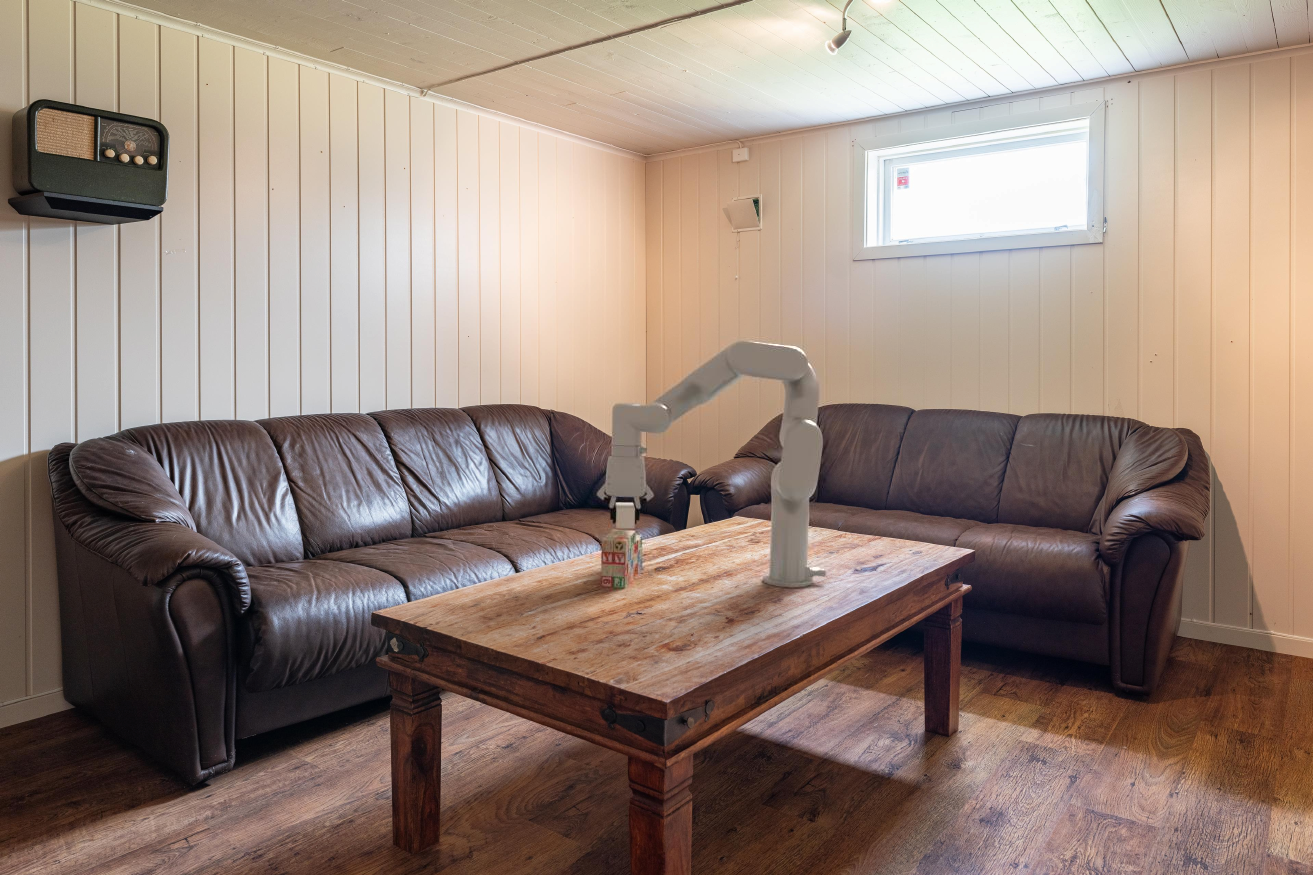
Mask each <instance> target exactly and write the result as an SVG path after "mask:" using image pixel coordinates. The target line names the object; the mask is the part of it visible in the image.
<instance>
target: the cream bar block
mask: <svg viewBox="0 0 1313 875" xmlns="http://www.w3.org/2000/svg"><path fill="white" fill-rule="evenodd" d="M615 506H616V523H615V527H616V528H615V529H635V527H636V526H635V525H636V524H635V503H634V502H615Z"/></svg>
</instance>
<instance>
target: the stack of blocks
mask: <svg viewBox="0 0 1313 875" xmlns="http://www.w3.org/2000/svg"><path fill="white" fill-rule="evenodd" d="M636 532H637V531H636V530H630V529H627V530H625V529H612V530H611V531H610V532H609V533H608V534H606V535H605V536H604V537H602V538H601V554H600V556H601V557H600V558H601V559H600V560H601V562H600V563H601V565H600V567H601V568H600V569H601V571H600V572H601V576H600V587H601V588H609V589H626V588H627V586H629V585H630V584H631V583H632V582H633V580H634V579H635V577H636V576H637V575H638V574H639V573H640V572H641V570H642V569H643V535H642V534H641V535H640V534H636Z"/></svg>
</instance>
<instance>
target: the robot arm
mask: <svg viewBox="0 0 1313 875" xmlns="http://www.w3.org/2000/svg"><path fill="white" fill-rule="evenodd" d="M746 376H747V377H752V378H759V379H768V380H778V381H781V382H782V385H783V387H784V391H785V392H784V395H785V396H784V407H783V414H782V420H781V426H780V430H779V442H780V445H781V447H782V452H781V454H782V455H781V461H779V462H778V463H777V464H776V465H775V466H774V468H773V469H772V473H771V478H770V492H771V494H770V495H771V514H770V517H771V518H770V539H769V540H770V544H769V547H770V548H769V572H767V573H765V574H764V575H763V576H762V579H763V580H762V581H763V582H764V583H765V584H768V585H771V586H774V587H781V588H790V589H791V588H792V589H793V588H795V589H796V588H805V587H810V586H811V585H813V583H814V582H813V581H814V577H826V574H827V571H826V568H819V567H810V565H809V564H808V549H809V523H810V498H811V497H812V496H813V495H814V493H815V491H816V488H817V486H818V481H819V474H820V468H821V461H822V456H823V455H822V453H823V446H824V445H823V444H824V438H823V434H822V431H821V428H820V427H819V426H818V425H817V422H818V416H819V415H818V414H819V403H820V384H819V379H818V376H817V374H816V373H815V371H814V369H813V366H812V365H811V364H810V363H809V359H808V356H807V354H806V353H805V352H804V351H803V350H802V349H801V348H799V347H796V346H791V345H782V344H773V343H764V342H756V341H751V340H745V339H743V340H739V341H738V340H737V341H735V342H733V343H731V344H730V345H728V346H727V347H725V348H724V349H723V350H721V351H720V352H718V353H717V354H716V355H715V356H713V357H712V358H710V359H708V360H707V361H706V362H705V363H703V364H702V365H700V366H699V367H698V368H696V369H695V370H694V371H692V372H691V373H689V374H688V375H687V376H685V378H683V379H682V380H681V381H680V382H679V383H677V384H676V385H674V386H673V387H672V388H670V389H669V390H668V391H666V392H665V393H663V394H662V395H661V396H659V397H657V398H656V399H654V400H653V401H652V402H651V403H649V404H643V405H642V404H638V403H633V402H629V403H628V402H620V403H618V402H617V403H615V404H614V405H613V406H612V411H611V412H612V413H611V417H612V418H611V453H610V454H611V455H610V456H608V458H607V464H606V473H605V482H604V484H603V485H602V486H601V487H600V488H599V490H597V493H596V496H597V497H598V498H599V499H601V500H602V501H604V503H605V504H606V505H607V506H608V507H609V509H610V512H609V516H610V517H609V520H610V521H612V524H613V525H616V501H617V497H619V498H624V497H625V498H633V499H634V507H635V525H638V524H637V521H640V514H641V513H640V512H641V511H640V510H641V508H642V507H643V506H644V505H645V504H646V503H647V502H648V501H650V500H651V499H652V498H654V496H655V495H654V492H653V491H652V490H651V488H650V487H649V486H648V484H647V482H646V481H647V479H646V474H647V473H646V464H645V463H646V462H645V457H643V456H642V455H643V454H647V452H648V448H647V447H643V446H642V434H643V433H649V434H655V435H656V434H663V433H666V432H667V431H668V430H669V429H670V428H671V427H672V423H674V422H675V421H677V420H678V419H680V418H681V417H683V416H684V415H685V414H687V413H689V412H690V411H692V410H693V409H695V408H697V407H698V406H701V405H703V404H707V403H708V402H710V401H712V400H713V399H715V398H716V397H718V396H720V395H721V394H722V393H723V392H725V391H726V390H728V389H729V388H730V387H731V386H733V385H735V384H736V383H737V382H739V381H740V380H742V379H743V378H744V377H746ZM605 493H606V494H605ZM645 493H646V495H645ZM644 495H645V496H644ZM609 496H610V497H611V498H610V497H609ZM640 497H641V499H640Z"/></svg>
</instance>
